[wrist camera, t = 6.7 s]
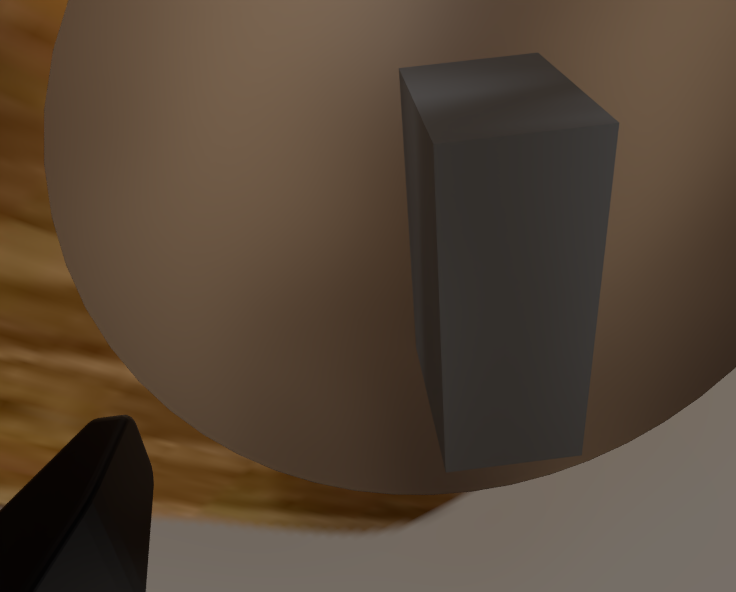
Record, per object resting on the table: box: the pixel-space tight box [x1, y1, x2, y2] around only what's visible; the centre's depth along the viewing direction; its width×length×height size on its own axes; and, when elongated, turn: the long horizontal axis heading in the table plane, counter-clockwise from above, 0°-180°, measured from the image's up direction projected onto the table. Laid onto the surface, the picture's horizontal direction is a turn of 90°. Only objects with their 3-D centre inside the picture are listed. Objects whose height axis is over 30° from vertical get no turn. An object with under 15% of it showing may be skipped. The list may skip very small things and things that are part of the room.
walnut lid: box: [44, 0, 736, 495], centre depth 10 cm, size 13×13×4 cm
